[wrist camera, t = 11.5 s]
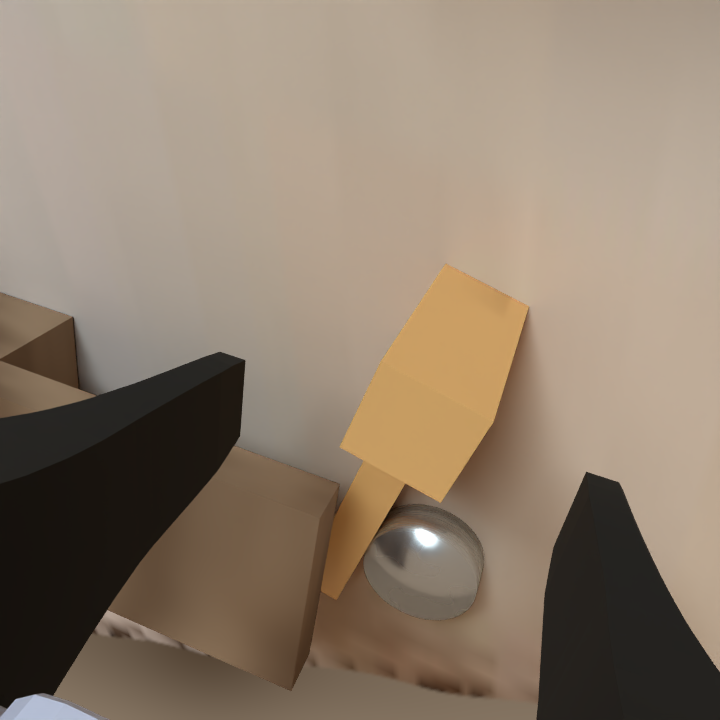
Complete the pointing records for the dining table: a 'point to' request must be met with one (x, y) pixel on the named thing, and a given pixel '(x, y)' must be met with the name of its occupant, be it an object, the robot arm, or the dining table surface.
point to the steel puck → (425, 562)
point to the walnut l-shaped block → (200, 526)
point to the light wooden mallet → (424, 408)
